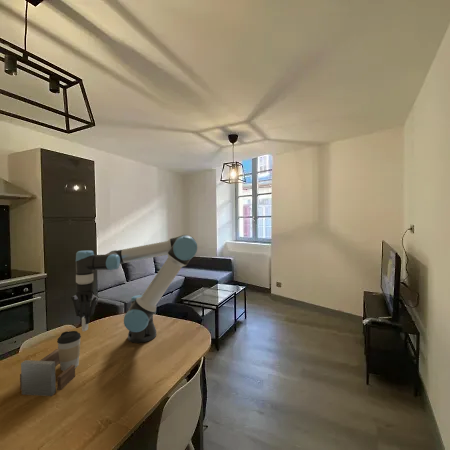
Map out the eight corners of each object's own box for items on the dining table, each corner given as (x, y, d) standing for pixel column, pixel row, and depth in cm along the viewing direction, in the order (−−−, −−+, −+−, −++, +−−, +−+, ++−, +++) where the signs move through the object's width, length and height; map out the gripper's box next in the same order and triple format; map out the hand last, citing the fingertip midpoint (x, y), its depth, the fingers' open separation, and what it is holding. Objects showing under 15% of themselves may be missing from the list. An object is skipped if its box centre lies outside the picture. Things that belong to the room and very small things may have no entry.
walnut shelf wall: (89, 363, 115) (89, 350, 115) (59, 391, 96) (58, 376, 96) (57, 361, 116) (56, 348, 116) (20, 389, 97) (19, 374, 97)
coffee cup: (86, 362, 115) (85, 330, 115) (68, 374, 107) (67, 339, 106) (71, 359, 118) (70, 327, 118) (52, 370, 110) (51, 336, 109)
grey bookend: (55, 392, 96) (55, 361, 95) (51, 396, 94) (51, 364, 93) (26, 390, 97) (25, 360, 96) (21, 394, 95) (21, 363, 94)
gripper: (102, 280, 126) (102, 327, 126) (77, 280, 127) (77, 326, 127) (92, 284, 118) (93, 334, 119) (66, 283, 119) (67, 332, 120)
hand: (85, 330), depth 123 cm, fingers closed
